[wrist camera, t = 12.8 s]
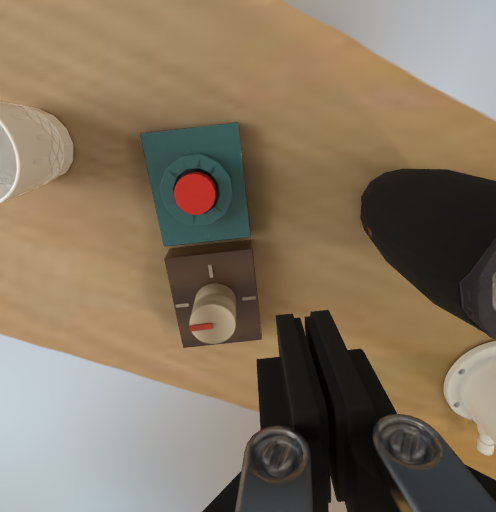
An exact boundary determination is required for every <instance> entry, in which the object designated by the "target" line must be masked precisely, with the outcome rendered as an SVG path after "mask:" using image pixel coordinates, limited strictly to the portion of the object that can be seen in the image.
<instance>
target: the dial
mask: <svg viewBox="0 0 496 512" xmlns="http://www.w3.org/2000/svg"><path fill="white" fill-rule="evenodd" d="M189 325H190V326H189V328H190V332H192V333H193V335H194V336H195V337H196V338H197V339H199V340H200V341H202V342H205V343H209V344H217V343H221V342H224V341H226V340H227V339H229V338H230V337H231V336H232V334H233V333H234V331H235V328H236V297H235V295H234V293H233V292H232V290H231V289H230V288H228V287H227V286H225V285H222V284H217V283H213V284H208V285H206V286H204V287H202V288H201V289H200V290H199V291H198V293H197V294H196V297H195V301H194V305H193V309H192V313H191V317H190V324H189Z"/></svg>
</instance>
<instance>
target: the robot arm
mask: <svg viewBox="0 0 496 512" xmlns="http://www.w3.org/2000/svg"><path fill="white" fill-rule="evenodd" d="M276 325H277V335H278V346H279V356H280V357H274V358H265V359H257V375H258V392H259V409H260V426H261V430H260V431H258V432H257V433H256V434H254V435H253V436H252V438H251V439H250V440H249V442H248V443H247V446H246V449H245V452H244V458H243V465H242V471H241V472H240V473H239V474H238V475H237V476H236V477H235V478H234V479H233V480H232V482H230V483H229V485H227V486H226V488H225V489H224V490H223V491H222V492H221V493H220V494H219V495H218V496H217V497H216V498H215V499H214V500H213V501H212V502H211V503H210V504H209V505H208V506H207V507H206V508H205V510H203V512H328V503H330V502H331V484H330V483H331V482H330V476H331V479H332V484H333V488H334V491H335V496H336V499H337V501H338V502H341V501H345V504H346V508H347V512H496V480H494V479H492V478H490V477H488V476H486V475H484V474H482V473H480V472H478V471H476V470H474V469H473V468H471V467H469V466H467V465H465V464H464V463H463V462H462V461H461V460H460V458H459V457H458V456H457V455H456V454H455V452H454V451H453V450H452V449H451V448H450V446H449V445H448V444H447V443H446V442H445V440H444V439H443V438H442V437H441V436H440V434H439V433H438V432H437V431H436V430H435V429H433V428H432V427H431V426H430V425H429V424H427V423H425V422H424V421H422V420H421V419H418V418H415V417H412V416H409V415H403V414H397V413H396V411H395V409H394V407H393V405H392V403H391V401H390V400H389V398H388V396H387V394H386V392H385V390H384V388H383V387H382V385H381V383H380V381H379V379H378V377H377V375H376V374H375V372H374V370H373V368H372V366H371V364H370V362H369V361H368V359H367V357H366V355H365V353H364V352H363V350H362V349H353V350H347V348H346V346H345V344H344V342H343V340H342V337H341V335H340V333H339V331H338V329H337V327H336V325H335V322H334V320H333V318H332V316H331V314H330V312H329V310H323V311H314V312H311V315H310V316H309V317H305V332H304V329H303V326H302V322H301V319H300V318H294V316H293V314H285V315H276ZM305 333H306V336H305ZM444 396H445V399H446V401H447V402H448V404H449V405H450V407H451V408H452V409H453V410H454V411H455V412H456V413H457V414H458V415H460V416H462V417H464V418H466V419H470V420H474V422H475V423H476V424H477V425H478V427H477V430H478V432H479V433H480V435H479V436H478V440H477V449H478V450H479V451H480V452H481V453H482V454H485V455H492V454H493V452H494V448H495V444H496V341H492V342H488V343H485V344H482V345H479V346H477V347H475V348H473V349H471V350H469V351H468V352H466V353H465V354H464V355H462V356H461V357H460V358H459V359H458V360H457V361H456V362H455V363H454V364H453V366H452V367H451V368H450V370H449V371H448V373H447V375H446V378H445V381H444Z"/></svg>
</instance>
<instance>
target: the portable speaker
mask: <svg viewBox="0 0 496 512" xmlns="http://www.w3.org/2000/svg"><path fill="white" fill-rule="evenodd" d="M361 198H362V206H361V221H362V224H363V227H364V230H365V232H366V233H367V235H368V236H369V237H370V239H371V240H372V242H373V243H374V244H375V246H376V247H377V249H378V250H379V251H380V253H381V254H382V256H383V257H384V258H385V260H386V261H387V262H388V263H389V264H390V265H391V266H392V267H393V268H395V269H396V270H397V271H398V272H399V273H400V274H401V275H402V276H404V277H405V278H406V279H407V280H408V281H409V282H410V283H411V284H413V285H414V286H415V287H416V288H417V289H418V290H419V291H420V292H422V293H423V294H424V295H425V296H426V297H427V298H428V299H429V300H431V301H432V302H433V303H434V304H435V305H437V306H439V307H441V308H442V309H444V310H446V311H448V312H449V313H451V314H453V315H455V316H456V317H458V318H460V319H462V320H463V321H465V322H467V323H469V324H470V325H472V326H474V327H476V328H477V329H479V330H481V331H483V332H484V333H486V334H487V335H488V336H489V337H491V338H493V339H496V181H493V180H489V179H484V178H480V177H476V176H472V175H468V174H463V173H459V172H455V171H451V170H442V169H401V170H396V171H391V172H386V173H384V174H382V175H381V176H379V177H377V178H376V179H374V180H373V181H371V182H370V183H369V185H368V187H367V188H366V190H365V191H364V193H363V195H362V196H361Z"/></svg>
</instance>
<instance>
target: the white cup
mask: <svg viewBox="0 0 496 512" xmlns="http://www.w3.org/2000/svg"><path fill="white" fill-rule="evenodd" d="M72 161H73V142H72V140H71V138H70V135H69V133H68V130H67V128H66V127H65V126H64V125H63V124H62V123H61V122H60V121H59V120H58V119H57V118H56V117H55V116H54V115H52V114H50V113H47V112H45V111H43V110H41V109H38V108H34V107H27V106H24V105H20V104H16V103H11V102H6V101H2V100H0V204H1V203H3V202H6V201H8V200H10V199H13V198H15V197H18V196H20V195H23V194H25V193H28V192H30V191H32V190H34V189H36V188H39V187H41V186H43V185H45V184H47V183H49V182H50V181H52V180H54V179H56V178H58V177H60V176H61V175H63V174H65V173H66V172H67V170H68V169H69V167H70V165H71V163H72Z"/></svg>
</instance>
